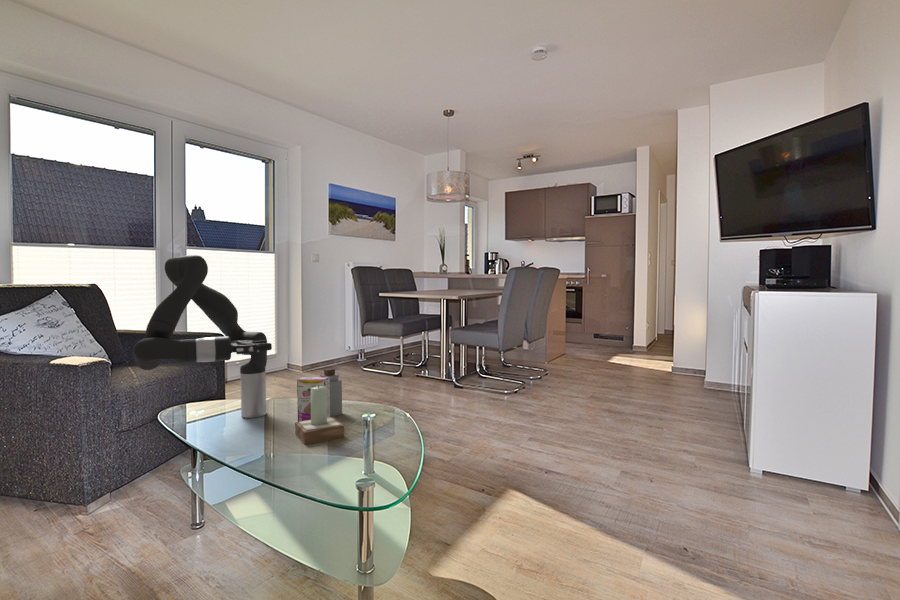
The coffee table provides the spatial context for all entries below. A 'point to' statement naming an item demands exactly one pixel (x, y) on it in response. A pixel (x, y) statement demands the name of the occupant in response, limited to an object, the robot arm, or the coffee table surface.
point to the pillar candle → (318, 405)
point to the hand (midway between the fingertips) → (269, 345)
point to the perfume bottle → (334, 391)
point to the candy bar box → (305, 395)
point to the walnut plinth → (319, 431)
